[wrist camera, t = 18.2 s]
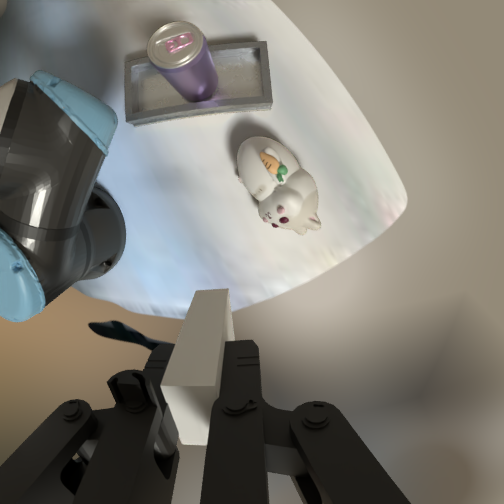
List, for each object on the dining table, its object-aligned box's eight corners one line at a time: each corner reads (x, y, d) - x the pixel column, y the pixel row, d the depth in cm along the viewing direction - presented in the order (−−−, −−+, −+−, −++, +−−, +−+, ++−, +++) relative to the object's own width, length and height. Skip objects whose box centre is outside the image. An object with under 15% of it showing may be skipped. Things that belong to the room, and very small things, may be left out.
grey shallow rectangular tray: (136, 127, 39) (125, 123, 35) (134, 68, 36) (125, 60, 32) (270, 110, 39) (272, 104, 35) (264, 50, 36) (266, 39, 32)
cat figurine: (235, 133, 31) (315, 241, 33) (282, 110, 34) (353, 205, 36) (212, 167, 40) (277, 253, 41) (254, 143, 43) (312, 222, 44)
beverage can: (224, 92, 37) (213, 54, 22) (185, 108, 37) (154, 79, 23) (210, 59, 35) (193, 11, 21) (172, 75, 36) (138, 35, 21)
